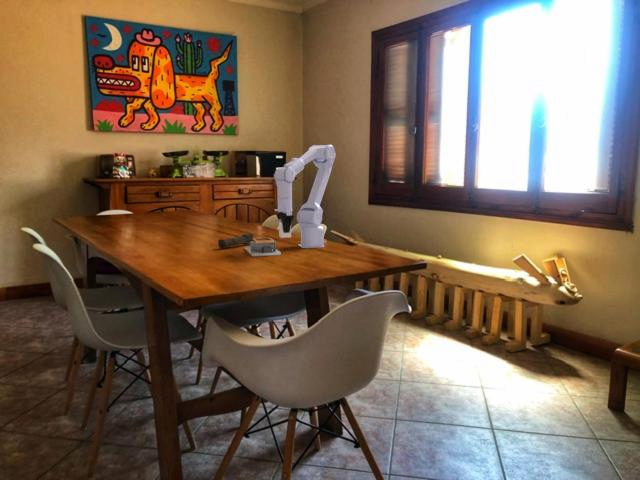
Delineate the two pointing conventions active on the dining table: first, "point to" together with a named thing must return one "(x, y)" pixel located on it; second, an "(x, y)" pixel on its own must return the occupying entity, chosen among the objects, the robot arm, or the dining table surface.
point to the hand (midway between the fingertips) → (285, 231)
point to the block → (281, 232)
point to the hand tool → (236, 241)
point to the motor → (262, 247)
